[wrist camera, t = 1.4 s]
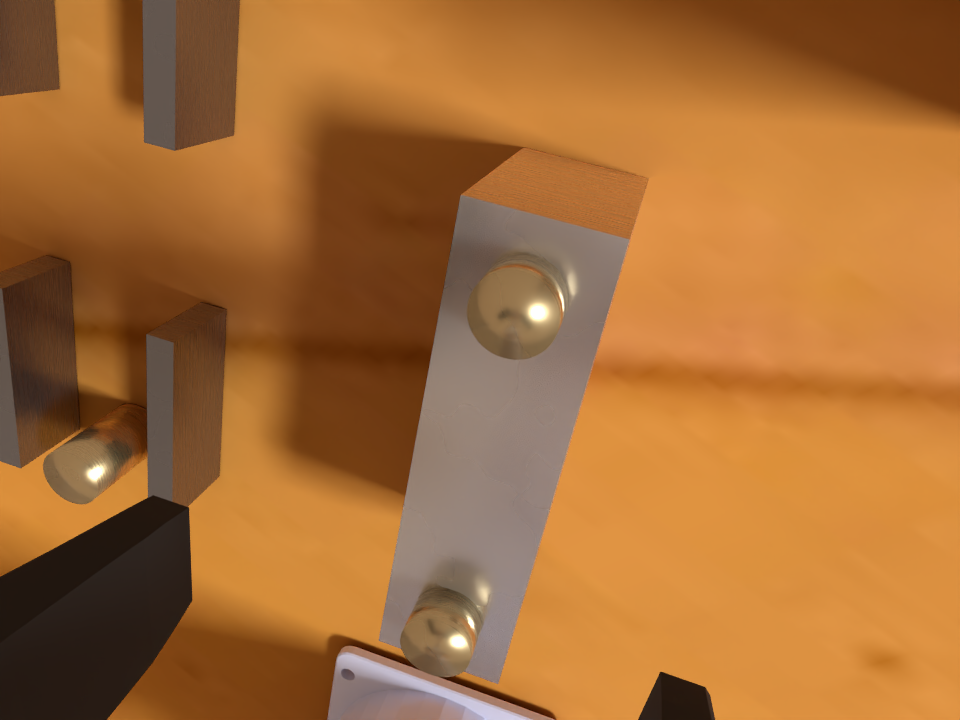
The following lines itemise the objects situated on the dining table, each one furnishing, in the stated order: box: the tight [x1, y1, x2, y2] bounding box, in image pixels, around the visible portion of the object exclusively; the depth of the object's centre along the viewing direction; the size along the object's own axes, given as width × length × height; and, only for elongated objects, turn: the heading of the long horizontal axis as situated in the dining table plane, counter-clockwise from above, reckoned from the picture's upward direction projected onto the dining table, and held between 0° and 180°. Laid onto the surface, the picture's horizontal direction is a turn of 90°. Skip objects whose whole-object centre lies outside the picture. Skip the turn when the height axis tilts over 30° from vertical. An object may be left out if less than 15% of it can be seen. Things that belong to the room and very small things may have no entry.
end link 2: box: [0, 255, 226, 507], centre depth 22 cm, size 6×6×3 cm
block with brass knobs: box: [379, 147, 648, 684], centre depth 17 cm, size 11×3×6 cm, turn 169°
